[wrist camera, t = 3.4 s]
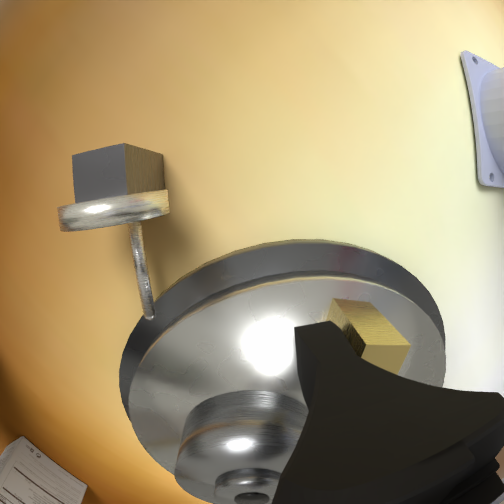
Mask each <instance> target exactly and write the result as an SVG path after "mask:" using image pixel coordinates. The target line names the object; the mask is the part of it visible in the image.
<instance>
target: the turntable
mask: <svg viewBox="0 0 504 504" xmlns="http://www.w3.org/2000/svg"><path fill="white" fill-rule="evenodd" d="M329 320H330V321H332V322H333V323H335V324H336V325H337V326H338V327H339V328H340V329H341V330H342V332H343V334H344V335H345V337H346V338H347V340H348V341H349V343H350V345H351V346H352V348H353V350H354V351H355V353H356V355H357V356H359V357H361V358H362V359H364V360H366V361H368V362H370V363H372V364H374V365H376V366H378V367H380V368H382V369H384V370H387V371H389V372H391V373H394V374H396V375H399V376H402V377H405V378H407V379H411V380H414V381H417V382H421V383H424V384H428V385H432V386H437V387H442V386H443V383H444V377H445V371H446V355H445V349H444V344H443V341H442V338H441V336H440V333H439V331H438V329H437V327H436V326H435V324H434V323H433V321H432V320H431V318H430V317H429V316H428V315H427V314H426V313H425V312H424V311H423V310H422V309H421V308H420V307H419V306H418V305H416V304H415V303H414V302H413V301H411V300H410V299H409V298H408V297H406V296H405V295H404V294H402V293H400V292H399V291H397V290H396V289H394V288H392V287H391V286H389V285H387V284H384V283H382V282H379V281H377V280H374V279H372V278H369V277H365V276H361V275H356V274H352V273H347V272H337V271H325V270H313V271H292V272H286V273H280V274H274V275H268V276H263V277H260V278H256V279H253V280H249V281H246V282H242V283H239V284H236V285H233V286H231V287H229V288H226V289H224V290H222V291H219V292H217V293H214V294H212V295H210V296H208V297H206V298H205V299H203V300H201V301H200V302H198V303H196V304H194V305H193V306H191V307H189V308H188V309H186V310H185V311H184V312H182V313H181V314H180V315H179V316H177V317H176V318H175V319H174V320H172V321H171V322H170V323H169V324H168V325H167V326H166V327H165V328H164V329H163V330H162V331H161V332H160V333H159V334H158V335H157V336H156V338H155V339H154V340H153V342H152V343H151V345H150V346H149V348H148V350H147V351H146V353H145V354H144V356H143V358H142V360H141V362H140V364H139V366H138V368H137V371H136V373H135V376H134V378H133V381H132V383H131V387H130V393H129V415H130V419H131V423H132V427H133V429H134V431H135V433H136V435H137V437H138V440H139V441H140V443H141V444H142V445H143V447H144V448H145V450H146V451H147V452H148V453H149V454H150V455H151V456H152V458H153V459H154V460H155V461H156V462H158V463H159V464H160V465H161V466H162V467H164V468H165V469H166V470H167V471H169V472H170V473H172V474H174V472H175V466H176V461H177V457H178V452H179V447H180V442H181V438H182V433H183V428H184V424H185V420H186V418H187V416H188V414H189V413H190V411H191V410H192V409H193V408H194V407H195V406H197V405H198V404H200V403H201V402H203V401H205V400H207V399H209V398H212V397H214V396H217V395H221V394H224V393H230V392H237V391H266V392H273V393H278V394H282V395H285V396H288V397H291V398H293V399H295V400H297V401H299V402H300V403H302V404H304V405H305V406H306V407H307V405H306V403H305V400H304V397H303V394H302V390H301V386H300V381H299V377H298V372H297V358H296V345H295V333H294V327H297V326H303V325H309V324H314V323H319V322H324V321H329Z"/></svg>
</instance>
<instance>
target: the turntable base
mask: <svg viewBox="0 0 504 504" xmlns="http://www.w3.org/2000/svg"><path fill="white" fill-rule="evenodd" d="M313 270H325V271H337V272H347V273H352V274H356V275H361V276H365V277H369V278H372V279H374V280H377V281H379V282H382V283H384V284H387V285H389V286H391V287H392V288H394V289H396V290H397V291H399V292H400V293H402V294H404V295H405V296H406V297H408V298H409V299H410V300H411V301H413V302H414V303H415V304H416V305H418V306H419V307H420V308H421V309H422V310H423V311H424V312H425V313H426V314H427V315H428V316H429V317H430V318H431V320H432V321H433V323H434V324H435V326H436V327H437V329H438V331H439V333H440V336H441V338H442V341H443V344H444V349H445V332H444V326H443V320H442V318H441V315H440V312H439V309H438V306H437V305H436V303H435V301H434V299H433V298H432V296H431V294H430V293H429V291H428V290H427V289H426V288H425V287H424V285H423V284H422V283H421V282H420V281H419V280H418V279H417V278H416V277H415V276H414V275H412V274H411V273H410V272H408V271H407V270H406V269H405V268H403V267H402V266H400V265H399V264H397V263H396V262H394V261H392V260H390V259H388V258H386V257H384V256H382V255H380V254H378V253H376V252H374V251H372V250H369V249H366V248H362V247H359V246H356V245H352V244H349V243H343V242H336V241H329V240H311V239H293V240H285V241H278V242H270V243H263V244H259V245H256V246H252V247H248V248H244V249H240V250H237V251H233V252H231V253H229V254H226V255H224V256H221V257H219V258H216V259H214V260H211V261H209V262H207V263H205V264H203V265H201V266H200V267H198V268H196V269H195V270H193V271H191V272H189V273H188V274H186V275H184V276H183V277H181V278H180V279H179V280H177V281H176V282H175V283H174V284H172V285H171V286H170V287H169V288H167V289H166V290H165V291H164V292H162V293H161V295H160V296H159V297H158V298H157V299H156V300H155V301H154V306H155V311H156V317H155V318H154V319H153V320H147V319H146V318H145V317H144V314H143V316H142V317H141V319H140V320H139V322H138V323H137V325H136V327H135V328H134V330H133V331H132V333H131V334H130V336H129V339H128V341H127V344H126V346H125V349H124V351H123V354H122V359H121V364H120V370H119V387H120V393H121V398H122V403H123V405H124V408H125V411H126V413H127V416H128V418H129V419H130V415H129V393H130V387H131V383H132V381H133V378H134V376H135V373H136V371H137V368H138V366H139V364H140V362H141V360H142V358H143V356H144V354H145V353H146V351H147V350H148V348H149V346H150V345H151V343H152V342H153V340H154V339H155V338H156V336H157V335H158V334H159V333H160V332H161V331H162V330H163V329H164V328H165V327H166V326H167V325H168V324H169V323H170V322H171V321H172V320H174V319H175V318H176V317H177V316H179V315H180V314H181V313H182V312H184V311H185V310H186V309H188V308H189V307H191V306H193V305H194V304H196V303H198V302H200V301H201V300H203V299H205V298H206V297H208V296H210V295H212V294H214V293H217V292H219V291H222V290H224V289H226V288H229V287H231V286H233V285H236V284H239V283H242V282H246V281H249V280H253V279H256V278H260V277H263V276H268V275H274V274H280V273H286V272H292V271H313ZM130 421H131V419H130Z"/></svg>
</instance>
